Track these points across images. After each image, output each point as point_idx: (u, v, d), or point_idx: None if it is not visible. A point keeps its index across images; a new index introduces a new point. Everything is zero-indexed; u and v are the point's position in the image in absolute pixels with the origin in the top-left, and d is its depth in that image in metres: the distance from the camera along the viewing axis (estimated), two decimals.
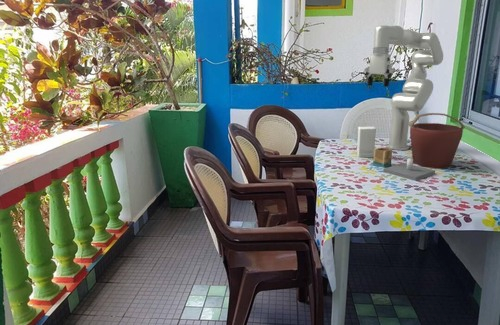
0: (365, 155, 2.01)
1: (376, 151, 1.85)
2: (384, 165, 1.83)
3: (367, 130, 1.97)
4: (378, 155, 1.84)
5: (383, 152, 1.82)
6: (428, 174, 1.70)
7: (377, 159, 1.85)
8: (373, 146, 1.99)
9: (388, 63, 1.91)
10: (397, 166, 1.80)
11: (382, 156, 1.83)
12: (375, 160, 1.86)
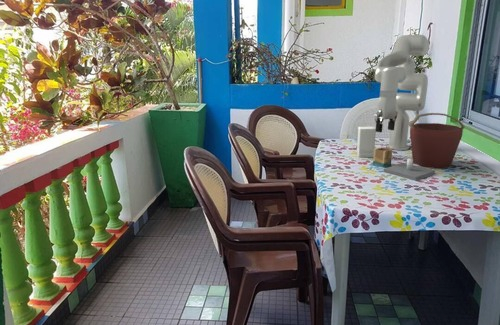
0: (365, 155, 2.01)
1: (376, 151, 1.85)
2: (384, 165, 1.83)
3: (367, 130, 1.97)
4: (378, 155, 1.84)
5: (383, 152, 1.82)
6: (428, 174, 1.70)
7: (377, 159, 1.85)
8: (373, 146, 1.99)
9: None
10: (397, 166, 1.80)
11: (382, 156, 1.83)
12: (375, 160, 1.86)
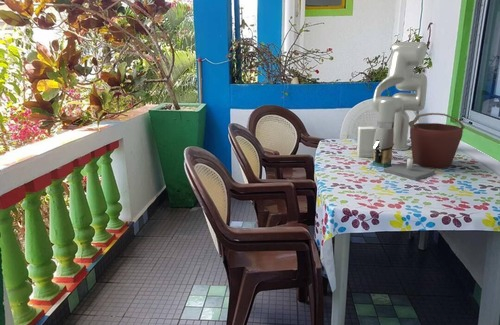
0: (365, 155, 2.01)
1: None
2: (384, 165, 1.83)
3: (367, 130, 1.97)
4: None
5: (383, 152, 1.82)
6: (428, 174, 1.70)
7: None
8: None
9: None
10: (397, 166, 1.80)
11: (382, 156, 1.83)
12: None
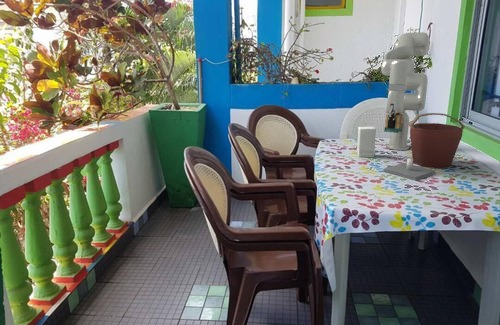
0: (365, 155, 2.01)
1: (388, 116, 1.76)
2: (398, 130, 1.75)
3: (367, 130, 1.97)
4: None
5: (397, 116, 1.73)
6: (428, 174, 1.70)
7: None
8: (373, 146, 1.99)
9: None
10: (397, 166, 1.80)
11: (396, 121, 1.74)
12: (387, 126, 1.77)
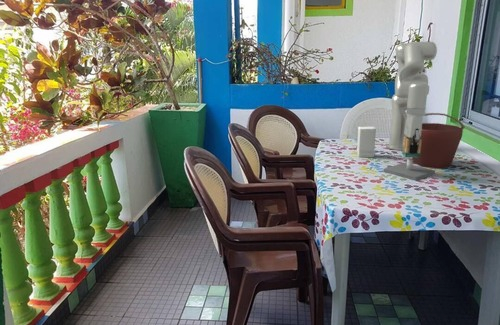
0: (365, 155, 2.01)
1: (410, 141, 1.68)
2: None
3: (367, 130, 1.97)
4: None
5: (419, 141, 1.68)
6: (428, 174, 1.70)
7: None
8: (373, 146, 1.99)
9: None
10: (397, 166, 1.80)
11: (418, 145, 1.68)
12: None
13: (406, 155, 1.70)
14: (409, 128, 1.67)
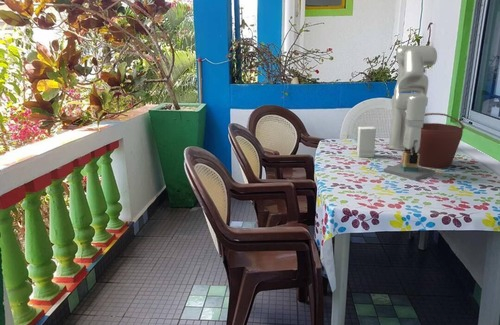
0: (365, 155, 2.01)
1: (408, 156, 1.70)
2: None
3: (367, 130, 1.97)
4: None
5: None
6: (428, 174, 1.70)
7: (409, 164, 1.71)
8: (373, 146, 1.99)
9: None
10: (397, 166, 1.80)
11: None
12: (407, 165, 1.71)
13: (404, 169, 1.72)
14: (408, 140, 1.68)
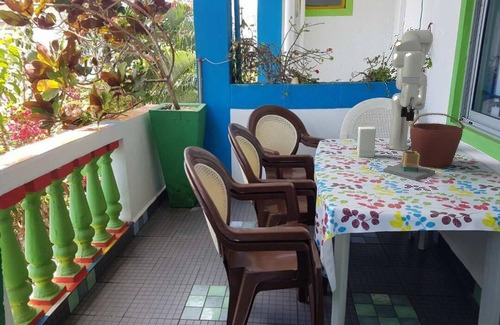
0: (365, 155, 2.01)
1: (408, 156, 1.70)
2: None
3: (367, 130, 1.97)
4: (411, 160, 1.70)
5: (417, 155, 1.70)
6: (428, 174, 1.70)
7: (409, 164, 1.71)
8: (373, 146, 1.99)
9: None
10: (397, 166, 1.80)
11: (416, 160, 1.70)
12: (407, 165, 1.71)
13: (404, 169, 1.72)
14: (404, 97, 1.69)
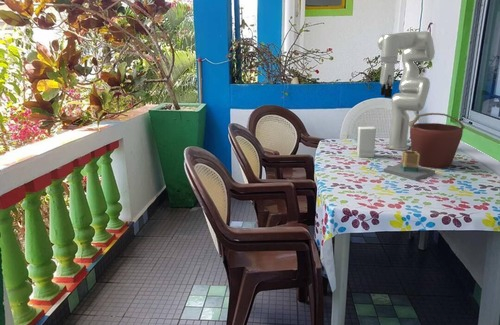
0: (365, 155, 2.01)
1: (408, 156, 1.70)
2: None
3: (367, 130, 1.97)
4: (411, 160, 1.70)
5: (417, 155, 1.70)
6: (428, 174, 1.70)
7: (409, 164, 1.71)
8: (373, 146, 1.99)
9: None
10: (397, 166, 1.80)
11: (416, 160, 1.70)
12: (407, 165, 1.71)
13: (404, 169, 1.72)
14: (383, 75, 1.85)
